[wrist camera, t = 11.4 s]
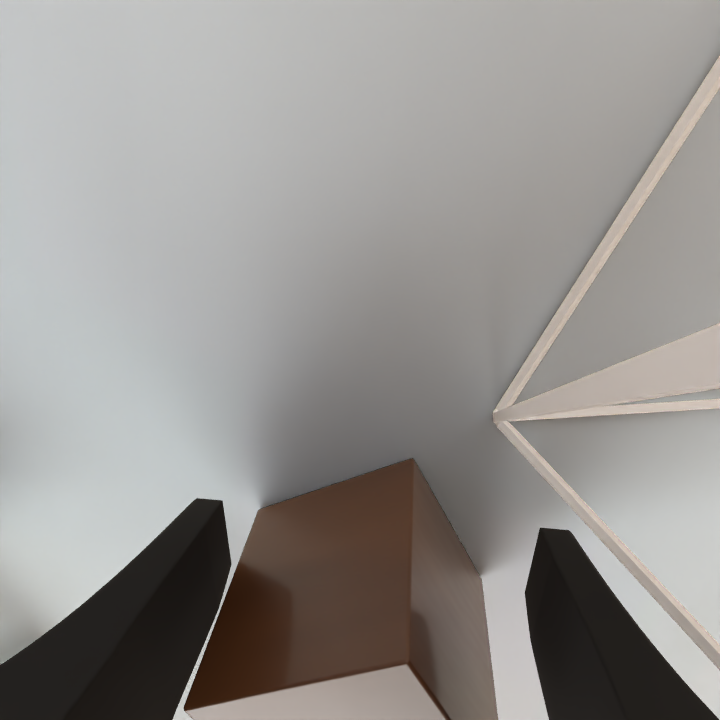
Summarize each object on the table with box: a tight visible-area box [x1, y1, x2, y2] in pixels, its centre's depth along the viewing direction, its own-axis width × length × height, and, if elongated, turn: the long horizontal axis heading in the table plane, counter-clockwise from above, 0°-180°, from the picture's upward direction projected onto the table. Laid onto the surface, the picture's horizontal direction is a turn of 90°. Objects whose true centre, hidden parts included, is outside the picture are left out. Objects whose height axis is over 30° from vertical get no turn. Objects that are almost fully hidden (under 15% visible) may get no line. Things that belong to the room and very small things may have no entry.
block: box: [184, 458, 498, 720], centre depth 12 cm, size 4×4×5 cm
